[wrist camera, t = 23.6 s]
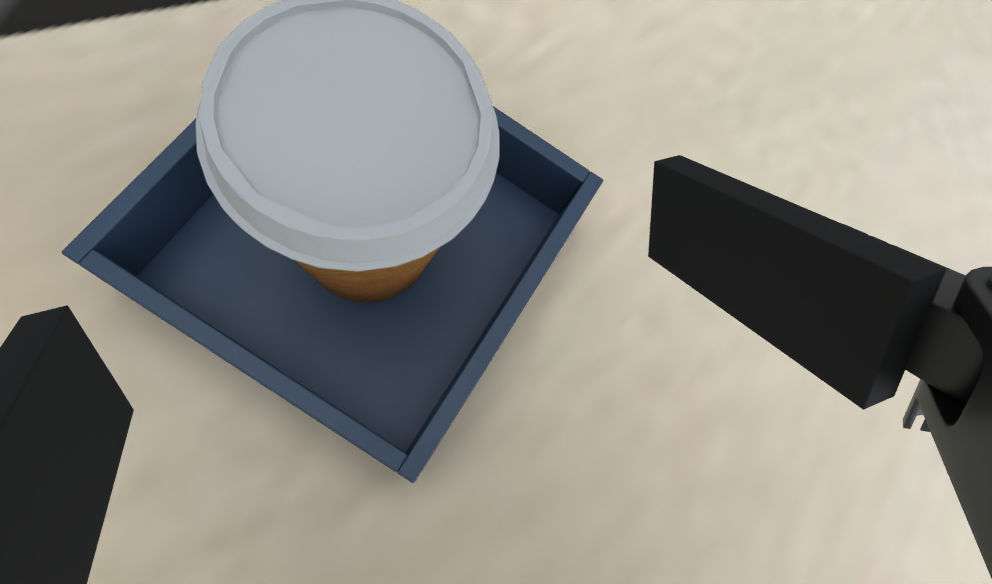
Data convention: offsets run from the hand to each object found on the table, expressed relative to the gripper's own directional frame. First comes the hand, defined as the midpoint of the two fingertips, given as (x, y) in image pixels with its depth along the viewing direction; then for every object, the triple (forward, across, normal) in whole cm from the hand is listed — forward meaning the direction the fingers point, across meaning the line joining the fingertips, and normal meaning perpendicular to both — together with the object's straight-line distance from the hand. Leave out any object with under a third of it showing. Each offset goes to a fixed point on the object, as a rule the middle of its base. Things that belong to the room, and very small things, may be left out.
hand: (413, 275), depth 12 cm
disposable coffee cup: (+15, 0, -6) cm, 16 cm away
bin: (+16, 0, -6) cm, 17 cm away
